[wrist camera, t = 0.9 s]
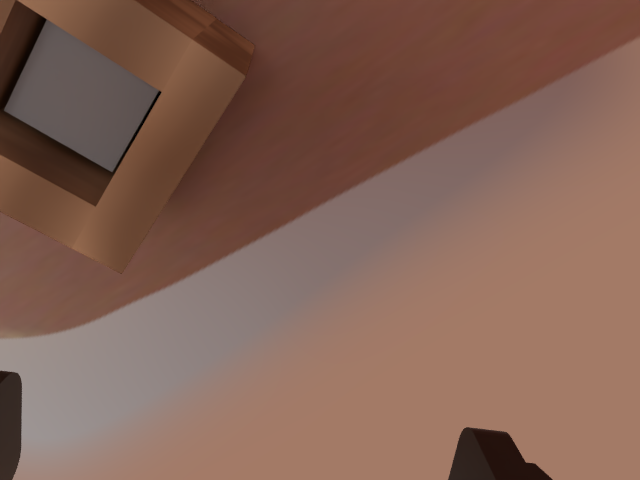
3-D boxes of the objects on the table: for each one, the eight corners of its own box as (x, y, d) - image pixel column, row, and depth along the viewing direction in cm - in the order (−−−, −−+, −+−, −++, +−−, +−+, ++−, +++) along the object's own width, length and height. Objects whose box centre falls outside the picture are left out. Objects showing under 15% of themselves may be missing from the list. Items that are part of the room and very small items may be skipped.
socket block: (-13, 96, 29) (-126, 146, 21) (69, -86, 26) (-26, -109, 17) (161, 196, 32) (121, 274, 24) (255, 45, 29) (246, 76, 21)
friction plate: (9, 107, 24) (3, 110, 23) (57, 6, 22) (52, 7, 22) (115, 168, 25) (112, 172, 25) (167, 77, 24) (165, 79, 23)
